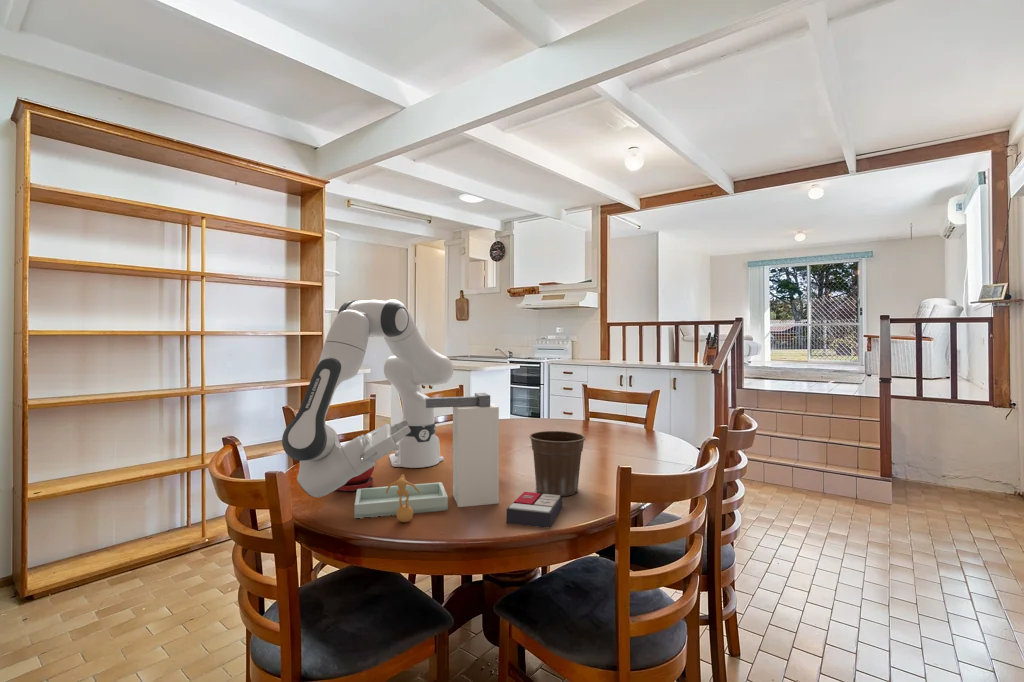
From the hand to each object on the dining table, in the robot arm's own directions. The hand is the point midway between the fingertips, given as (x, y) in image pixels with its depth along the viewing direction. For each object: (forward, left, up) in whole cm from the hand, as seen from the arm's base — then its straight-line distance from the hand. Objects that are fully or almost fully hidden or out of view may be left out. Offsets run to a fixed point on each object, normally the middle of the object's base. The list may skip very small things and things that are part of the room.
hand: (408, 424), depth 128 cm
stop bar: (+3, +13, +5) cm, 14 cm away
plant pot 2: (+10, +42, -22) cm, 48 cm away
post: (+5, +17, -21) cm, 28 cm away
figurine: (+12, -5, -22) cm, 25 cm away
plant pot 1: (-24, -9, -22) cm, 34 cm away
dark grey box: (+23, +26, -22) cm, 41 cm away
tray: (0, -2, -21) cm, 22 cm away
